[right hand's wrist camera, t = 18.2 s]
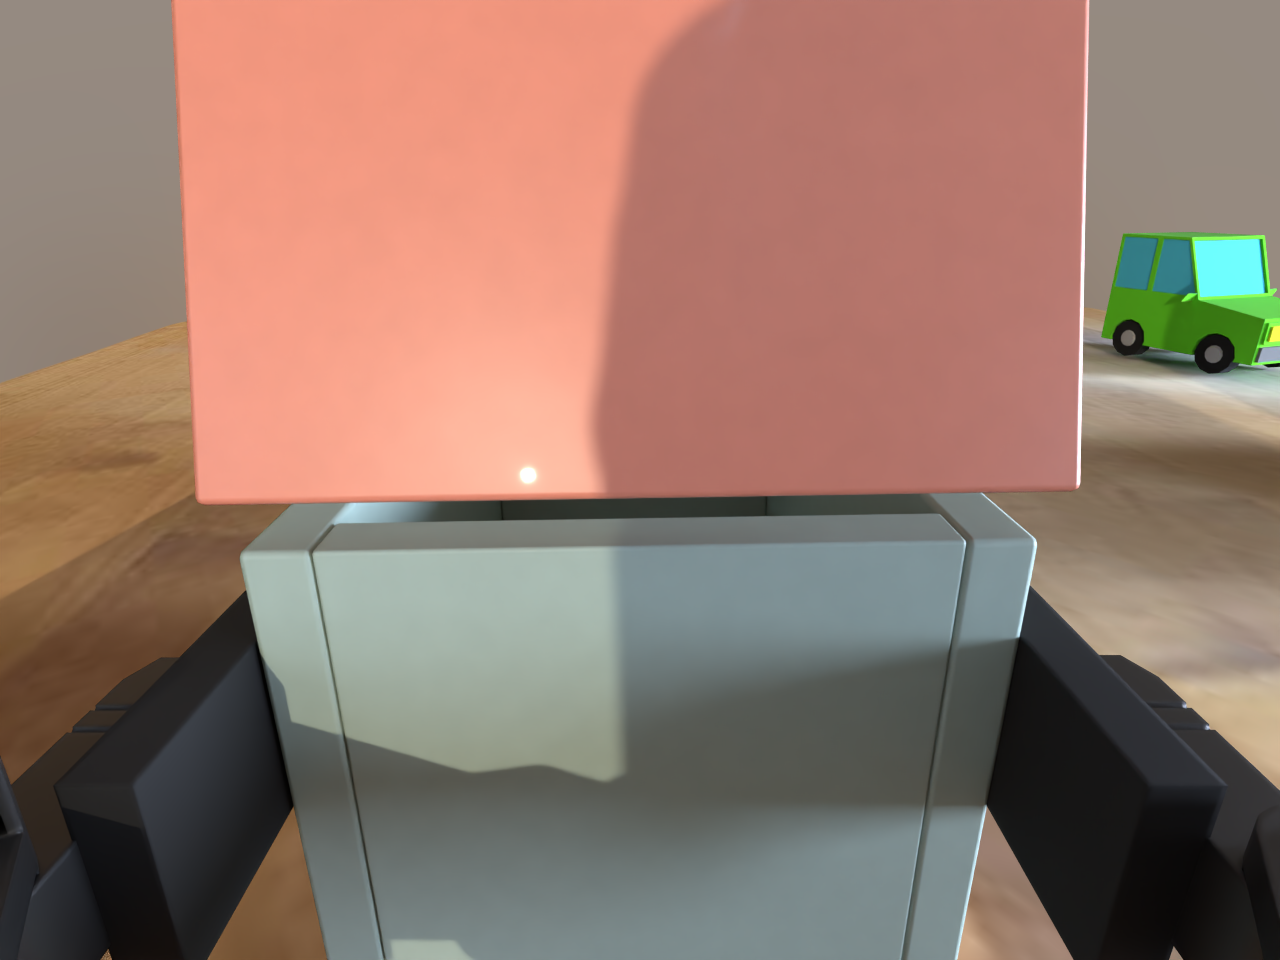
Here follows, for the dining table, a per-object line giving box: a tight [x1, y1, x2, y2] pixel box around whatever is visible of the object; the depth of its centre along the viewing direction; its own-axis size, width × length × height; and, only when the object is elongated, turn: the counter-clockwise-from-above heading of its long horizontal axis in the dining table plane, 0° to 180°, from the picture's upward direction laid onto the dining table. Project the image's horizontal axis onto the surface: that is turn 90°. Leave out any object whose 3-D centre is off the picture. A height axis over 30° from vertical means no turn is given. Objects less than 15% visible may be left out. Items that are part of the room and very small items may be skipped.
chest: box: [240, 493, 1037, 960], centre depth 17 cm, size 13×10×10 cm
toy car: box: [1101, 232, 1280, 373], centre depth 62 cm, size 10×13×10 cm
